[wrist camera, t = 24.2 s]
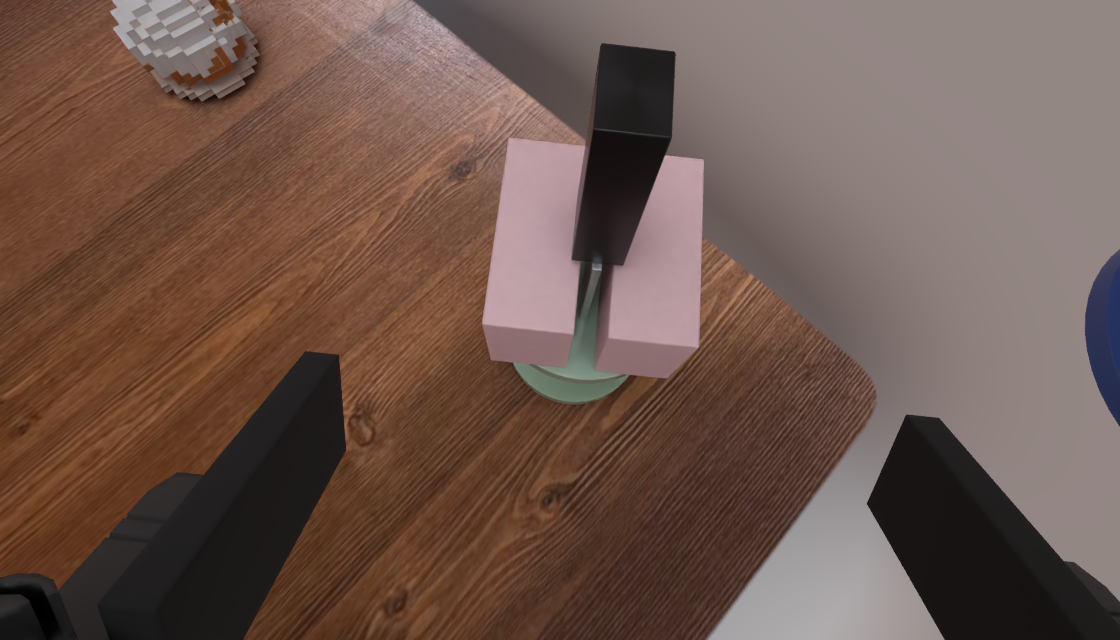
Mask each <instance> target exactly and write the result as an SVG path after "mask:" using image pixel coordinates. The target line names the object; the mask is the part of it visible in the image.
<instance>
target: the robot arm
mask: <svg viewBox="0 0 1120 640" xmlns="http://www.w3.org/2000/svg"><path fill="white" fill-rule="evenodd" d="M345 451H346V443H345V429H344V416H343V403H342V390H341V377H340V364H339V355H335V354H325V353H316V352H306V351H305V352H304V354H303V355H302V356H301V357H300V358H299V360H298V361H297V362H296V363H295V364H294V366H293V367H292V368H291V369H290V371H289V372H288V373H287V374H286V375H285V377H284V378H283V379H282V380H281V382H280V383H279V384H278V385H277V386H276V388H275V389H274V390H273V391H272V392H271V394H270V395H269V396H268V397H267V399H266V400H265V401H264V402H263V403H262V405H261V406H260V407H259V408H258V410H257V411H256V412H255V413H254V414H253V416H252V417H251V418H250V419H249V420H248V422H247V423H246V424H245V425H244V427H243V428H242V429H241V430H240V431H239V433H238V434H237V435H236V436H235V437H234V439H233V440H232V441H231V442H230V444H229V445H228V446H227V447H226V448H225V450H224V451H223V452H222V453H221V455H220V456H219V457H218V458H217V459H216V461H215V462H214V463H213V464H212V465H211V467H210V468H209V469H208V470H207V472H206V473H205V474H204V475H198V474H189V473H179V472H177V473H176V474H174V475H173V476H171V477H170V478H168V479H166V480H165V481H163V482H162V483H160V484H159V485H157V486H155V487H154V488H152V489H151V490H149V491H148V492H147V493H146V494H145V495H144V496H143V497H142V499H141V500H140V501H139V502H138V503H137V504H136V505H135V506H134V507H133V508H132V510H131V511H130V512H129V513H128V516H127V518H126V519H124V518H123V519H122V521H121V522H120V523H119V524H118V525H117V526H116V527H115V528H114V529H113V530H112V532H111V533H110V537H109V538H105V539H104V540H103V541H102V543H101V544H100V545H99V546H98V547H97V548H96V549H95V550H94V551H93V552H92V554H91V555H90V556H89V557H88V558H87V559H86V560H85V561H84V562H83V563H82V565H81V566H80V567H79V568H78V569H77V570H76V571H75V572H74V573H73V574H72V576H71V577H70V578H69V579H68V580H67V581H66V582H65V583H64V584H63V585H62V587H61V588H60V589H59V590H58V589H57V587H56V585H55V583H54V581H53V580H52V579H50V578H48V577H45V576H43V575H41V574H14V575H10V576H5V577H1V578H0V640H243V639H244V637H245V635H246V633H247V631H248V629H249V628H250V626H251V624H252V622H253V620H254V618H255V617H256V615H257V613H258V611H259V609H260V607H261V605H262V604H263V602H264V600H265V598H266V596H267V594H268V593H269V591H270V589H271V587H272V585H273V583H274V582H275V580H276V578H277V576H278V574H279V572H280V571H281V569H282V567H283V565H284V563H285V561H286V560H287V558H288V556H289V554H290V552H291V550H292V549H293V547H294V545H295V543H296V541H297V539H298V537H299V536H300V534H301V532H302V530H303V528H304V526H305V525H306V523H307V521H308V519H309V517H310V515H311V514H312V512H313V510H314V508H315V506H316V504H317V503H318V501H319V499H320V497H321V495H322V493H323V492H324V490H325V488H326V486H327V484H328V482H329V481H330V479H331V477H332V475H333V473H334V471H335V470H336V468H337V466H338V464H339V462H340V460H341V458H342V457H343V455H344V453H345ZM867 505H868V507H869V508H870V510H871V512H872V514H873V515H874V517H875V519H876V521H877V522H878V524H879V526H880V527H881V529H882V531H883V533H884V534H885V536H886V538H887V540H888V541H889V543H890V545H891V546H892V548H893V550H894V552H895V554H896V555H897V557H898V559H899V560H900V562H901V564H902V566H903V567H904V569H905V571H906V573H907V575H908V576H909V578H910V580H911V581H912V583H913V585H914V587H915V589H916V590H917V592H918V594H919V596H920V597H921V599H922V601H923V603H924V604H925V606H926V608H927V610H928V611H929V613H930V615H931V616H932V618H933V620H934V622H935V624H936V625H937V627H938V629H939V630H940V632H941V634H942V636H943V637H944V639H945V640H1120V602H1119V601H1118V600H1117V598H1116V597H1115V596H1114V595H1113V594H1112V593H1111V592H1110V591H1109V590H1108V589H1107V588H1106V586H1104V585H1103V584H1102V583H1100V582H1099V581H1097V580H1096V579H1095V578H1094V577H1092V576H1091V575H1090V574H1089V573H1087V572H1086V571H1085V570H1083V569H1082V568H1081V567H1079V566H1078V565H1077V564H1076V563H1074V562H1066V561H1063V560H1062V559H1061V558H1060V556H1059V555H1058V554H1057V553H1056V552H1055V551H1054V550H1053V548H1052V547H1051V546H1050V545H1049V544H1048V543H1047V542H1046V540H1045V539H1044V538H1043V537H1042V536H1041V535H1040V533H1039V532H1038V531H1037V530H1036V529H1035V528H1034V527H1033V525H1032V524H1031V523H1030V522H1029V521H1028V520H1027V519H1026V517H1025V516H1024V515H1023V514H1022V513H1021V512H1020V511H1019V509H1018V508H1017V507H1016V506H1015V505H1014V504H1013V502H1012V501H1011V500H1010V499H1009V498H1008V497H1007V496H1006V494H1005V493H1004V492H1003V491H1002V490H1001V489H1000V488H999V486H998V485H997V484H996V483H995V482H994V481H993V479H992V478H991V477H990V476H989V475H988V474H987V473H986V471H985V470H984V469H983V468H982V467H981V466H980V465H979V463H978V462H977V461H976V460H975V459H974V458H973V457H972V455H971V454H970V453H969V452H968V451H967V450H966V448H965V447H964V446H963V445H962V444H961V443H960V442H959V441H958V439H957V438H956V437H955V436H954V435H953V434H952V432H951V431H950V430H949V429H948V428H947V427H946V426H945V424H944V423H943V422H942V421H941V420H940V419H939V418H934V417H925V416H915V415H906V416H905V418H904V421H903V423H902V426H901V428H900V430H899V432H898V434H897V437H896V439H895V441H894V443H893V446H892V448H891V450H890V453H889V455H888V457H887V459H886V462H885V464H884V466H883V468H882V471H881V473H880V475H879V477H878V480H877V482H876V485H875V486H874V489H873V491H872V493H871V496H870V498H869V500H868V502H867Z"/></svg>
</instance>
